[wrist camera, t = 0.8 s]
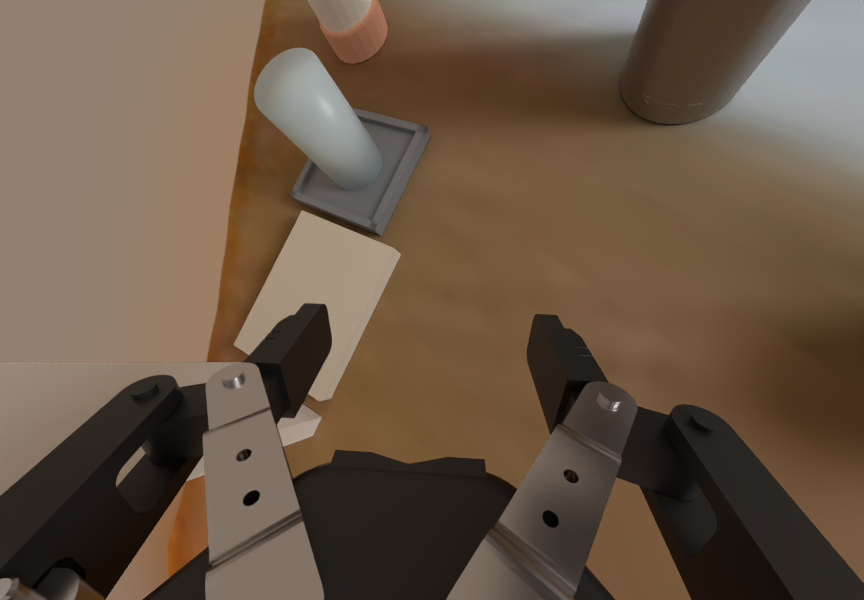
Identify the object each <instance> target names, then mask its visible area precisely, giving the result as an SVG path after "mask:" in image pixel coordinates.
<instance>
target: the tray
mask: <svg viewBox="0 0 864 600" xmlns="http://www.w3.org/2000/svg"><path fill="white" fill-rule="evenodd" d="M351 108H352V109H353V111H354V112H355V114H356V115H357V117H358V118H359V120H360V121H361V123H362V124H363V126H364V127H365V129H366V130H367V132H368V133H369V135H370V136H371V138H372V139H373V141H374V142H375V144H376V145H377V147H378V148H379V150H380V152H381V154H382V167H381V170H380V173H379V174H378V176H377V178H376V179H375V180H374V181H373V182H372V183H371V184H370V185H369V186H367V187H366V188H364V189H361V190H358V191H346V190H344V189H342V188H340V187H339V186H338V185H337V184H336V183H335V182H334V181H333V180H332V179H331V178H330V177H328V176H327V175H326V174H325V173H324V172H323V171H322V170H321V169H320V168H319V167H318V166H317V165H316V164H315V163H314V162H313V161H312V160H311V159H310V158H309V157H308V159H307V161H306V163H305V165H304V167H303V169H302V171H301V173H300V175H299V177H298V179H297V181H296V183H295V185H294V187H293V189H292V191H291V193H290V195H289V196H290V197H291V198H292V199H294V200H295V201H297V202H298V203H300V204H303V205H305V206H308V207H310V208H313V209H315V210H318V211H320V212H323V213H325V214H328V215H330V216H333V217H335V218H338V219H340V220H343V221H345V222H347V223H350V224H352V225H355V226H357V227H360V228H362V229H365V230H367V231H370V232H372V233H375V234H377V235H380V236H382V234H383V232H384V230H385V228H386V226H387V224H388V222H389V220H390V218H391V216H392V214H393V212H394V210H395V208H396V206H397V204H398V201H399V199H400V197H401V195H402V193H403V191H404V189H405V187H406V185H407V183H408V181H409V179H410V177H411V175H412V173H413V171H414V169H415V167H416V165H417V163H418V161H419V159H420V157H421V155H422V153H423V151H424V149H425V147H426V144H427V142H428V140H429V138H430V134H429V132H428V129H427V127H426V126H424V125H421V124H417V123H413V122H409V121H405V120H401V119H397V118H393V117H389V116H385V115H381V114H377V113H373V112H369V111H365V110H361V109H357V108H353V107H351Z"/></svg>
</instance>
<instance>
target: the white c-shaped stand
mask: <svg viewBox="0 0 864 600" xmlns="http://www.w3.org/2000/svg"><path fill="white" fill-rule="evenodd" d="M400 256H401V254H400V253H399V252H398V251H396V250H395V249H394V248H393V247H390V246H388V245H385V244H383V243H380V242H378V241H376V240H373V239H371V238H368V237H366V236H363V235H361V234H359V233H356V232H354V231H351V230H349V229H346V228H344V227H342V226H339V225H337V224H334V223H332V222H329V221H327V220H325V219H322V218H320V217H317V216H315V215H312V214H310V213H307V212H305V211H303V210H302V211H301V213H300V215H299V217H298V219H297V221H296V223H295V225H294V227H293V229H292V231H291V233H290V235H289V237H288V239H287V241H286V243H285V245H284V247H283V249H282V251H281V252H280V254H279V256H278V258H277V260H276V262H275V264H274V266H273V268H272V270H271V272H270V274H269V276H268V278H267V280H266V282H265V284H264V286H263V288H262V290H261V292H260V294H259V296H258V298H257V300H256V302H255V304H254V306H253V307H252V309H251V311H250V313H249V315H248V317H247V319H246V321H245V323H244V325H243V327H242V329H241V331H240V333H239V335H238V337H237V339H236V341H235V343H234V346H236V347H237V348H239V349H240V350H242V351H243V352H245V353H246V354H248V355H250V354H251V353H252V352H253V351H254V350H255V348H256V347H257V346H258V345H259V344H260V343H261V341H262V340H263V339H265V337H266V336H267V335H268V333H269V332H271V330H272V329H273V328H274V327H275V325H276V324H277V323H278V322H279V321H281V320H283V319H284V318H286V317H288V316H289V315H295V314H296V312H297V311H298V310H299V309H300V307H301V306H302V305H303V304H304V303H316V304H325V305H326V307H327V310H328V316H329V322H330V328H331V334H332V346H331V350H330V353H329V355H328V357H327V359H326V360H325V362H324V364H323V366H322V368H321V370H320V372H319V374H318V375H317V377H316V379H315V381H314V383H313V385H312V387H311V389H310V390H309V392H308V394H309V395H310V396H312V397H313V398H315V399H316V400H318V401H322V400H327V399H331V398H332V396H333V394H334V392H335V390H336V387H337V385H338V383H339V381H340V379H341V377H342V375H343V373H344V371H345V369H346V367H347V365H348V363H349V361H350V359H351V357H352V355H353V352H354V350H355V348H356V346H357V344H358V342H359V340H360V338H361V336H362V334H363V332H364V330H365V328H366V326H367V324H368V322H369V320H370V317H371V315H372V313H373V311H374V309H375V307H376V305H377V303H378V301H379V299H380V297H381V295H382V293H383V291H384V289H385V287H386V285H387V282H388V280H389V278H390V276H391V274H392V272H393V270H394V268H395V266H396V264H397V262H398V260H399V258H400ZM236 363H241V362H167V363H166V362H161V363H159V362H156V363H155V362H151V363H150V362H143V363H142V362H138V363H137V362H130V363H129V362H128V363H127V362H126V363H0V496H1V495H2V494H3V493H4V492H5V491H6V490H8V489H9V488H10V487H11V486H12V485H13V484H14V483H16V482H17V481H18V480H19V479H20V478H21V477H22V476H24V475H25V474H26V473H27V472H28V471H29V470H31V469H32V468H33V467H34V466H35V465H36V464H37V463H39V462H40V461H41V460H42V459H43V458H44V457H46V456H47V455H48V454H49V453H50V452H51V451H52V450H54V449H55V448H56V447H57V446H58V445H59V444H60V443H62V442H63V441H64V440H65V439H66V438H67V437H69V436H70V435H71V434H72V433H73V432H74V431H75V430H77V429H78V428H79V427H80V426H81V425H82V424H84V423H85V422H86V421H87V420H88V419H89V418H90V417H92V416H93V415H94V414H95V413H96V412H97V411H98V410H100V409H101V408H102V407H103V406H104V405H105V404H107V403H108V402H109V401H110V400H111V399H112V398H113V397H115V396H116V395H117V394H118V393H119V392H120V391H122V390H123V389H124V388H126V387H127V386H129V385H131V384H132V383H134V382H136V381H139V380H141V379H144V378H147V377H150V376H155V375H170V376H172V377H174V378H175V380H176V382H177V384H178V386H179V387H184V386H190V385H196V384H202V383H207V381H208V379H209V378H210V377H211V376H212V375H213V374H214V373H215V372H217V371H218V370H220V369H222V368H224V367H226V366H229V365H232V364H236ZM321 418H322V417H321V416H319V415H318V414H316V413H315V412H313V411H312V410H310V409H309V408H307V407H306V406H305V405H303V404H302V405H301V407H300V409H299V411H298V413H297V415H296V417H295V418H281V419H280V421H279V422H278V424H277V427H278V430H279V434H280V437H281V440H282V443H283V447H284V446H286V445H289V444H292V443H295V442H298V441H300V440H303V439H306V438H309V437H312V436H313V435H314V433H315V431H316V429H317V427H318V424H319V422H320V420H321ZM144 454H145V452H144V450H143V449H142V447H140V448H139V449H138V450H137V451H136V452H135V454H134V455H133V456H132V457H131V458H130V459H129V460H128V461H127V463H126V464H125V465H124V466H123V467H122V469H121V470H120V472H119V474H118V476H117V480H116V487H117V486H118V485H119V483H120V482H121V481H122V480H123V479H124V478H125V477H126V475H127V474H128V473H129V472H130V471H131V470H132V468H133V467H134V466H135V465H136V464H137V463H138V461H139V460H140V459H141V458H142V457H143V456H144ZM203 475H205V472H204V455H203V457H202V458H201V460H200V461H199V462H198V464H197V465H196V467H195V468H194V470H193V471H192V473H191V474H190V476H189V477H188V479H187V480H186V481H189V480H191V479H194V478H197V477H200V476H203Z"/></svg>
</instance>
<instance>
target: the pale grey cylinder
mask: <svg viewBox="0 0 864 600" xmlns="http://www.w3.org/2000/svg"><path fill="white" fill-rule="evenodd" d="M254 99H255V103H256V106H257V108H258V109H259V110H260V111H261V112H262V113H263V114H264V115H265V116H266V117H267V118H268V119H269V120H270V121H271V122H272V123H273V124H274V125H275V126H276V127H277V128H278V129H279V130H281V131H282V132H283V133H284V134H285V135H286V136H287V137H288V138H289V139H290V140H291V141H292V142H293V143H294V144H295V145H296V146H297V147H298V148H299V149H300V150H301V151H302V152H303V153H304V154H306V155H307V156H308V157H309V158H310V159H311V160H312V161H313V162H314V163H315V164H316V165H317V166H318V167H319V168H320V169H321V170H322V171H323V172H324V173H325V174H326V175H327V176H328V177H330V178H331V179H332V180H333V181H334V182H335V183H336V184H337V185H338V186H339V187H340V188H342V189H344V190H346V191H358V190H361V189H364V188H366V187H367V186H369V185H370V184H371V183H372V182H373V181H374V180H375V179H376V178H377V176H378V174H379V173H380V170H381V167H382V154H381V152H380V150H379V148H378V147H377V145H376V144H375V142H374V141H373V139H372V138H371V136H370V135H369V133H368V132H367V130H366V129H365V127H364V126H363V124H362V123H361V121H360V120H359V118H358V117H357V115H356V114H355V112H354V111H353V109H352V108H351V106H350V105H349V103H348V102H347V100H346V99H345V97H344V96H343V94H342V93H341V91H340V90H339V88H338V87H337V85H336V84H335V82H334V81H333V79H332V78H331V76H330V75H329V73H328V72H327V70H326V69H325V67H324V66H323V65H322V63H321V62H320V60H319V59H318V57H317V56H316V54H315V53H314V52H312V51H311V50H309V49H306V48H292V49H289V50H286V51H284V52H282V53H280V54H279V55H277V56H276V57H274V58H273V59H272V60H271V61H270V62H269V63H268V64H267V65H266V66H265V67H264V69H263V70H262V72H261V73H260V75H259V77H258V79H257V82H256V85H255V90H254Z"/></svg>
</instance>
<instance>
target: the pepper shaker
mask: <svg viewBox="0 0 864 600" xmlns="http://www.w3.org/2000/svg"><path fill="white" fill-rule="evenodd" d="M307 1H308V3H309V4H310V6H311V7H312V9H313V11H314V12H315V14H316V15H317V17H318V19H319V23H320V29H321V30H322V32H323V34H324V35H325V37H326V39H327V40H328V42H329V44H330V45H331V47H332V49H333V50H334V52H335V54H336V55H337V56H338V58H339V59H340V60H341V61H343V62H345V63H350V64H355V63H360V62H363V61H365V60H367V59H369V58H371V57H372V56H373V55H374V54H376V53H377V52H378V51H379V49H380V48H381V47H382V45H383V44H384V42H385V40H386V37H387V32H388V27H387V23H386V20H385V17H384V15H383V12H382V10H381V7H380V5H379V2H378V0H307Z"/></svg>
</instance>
